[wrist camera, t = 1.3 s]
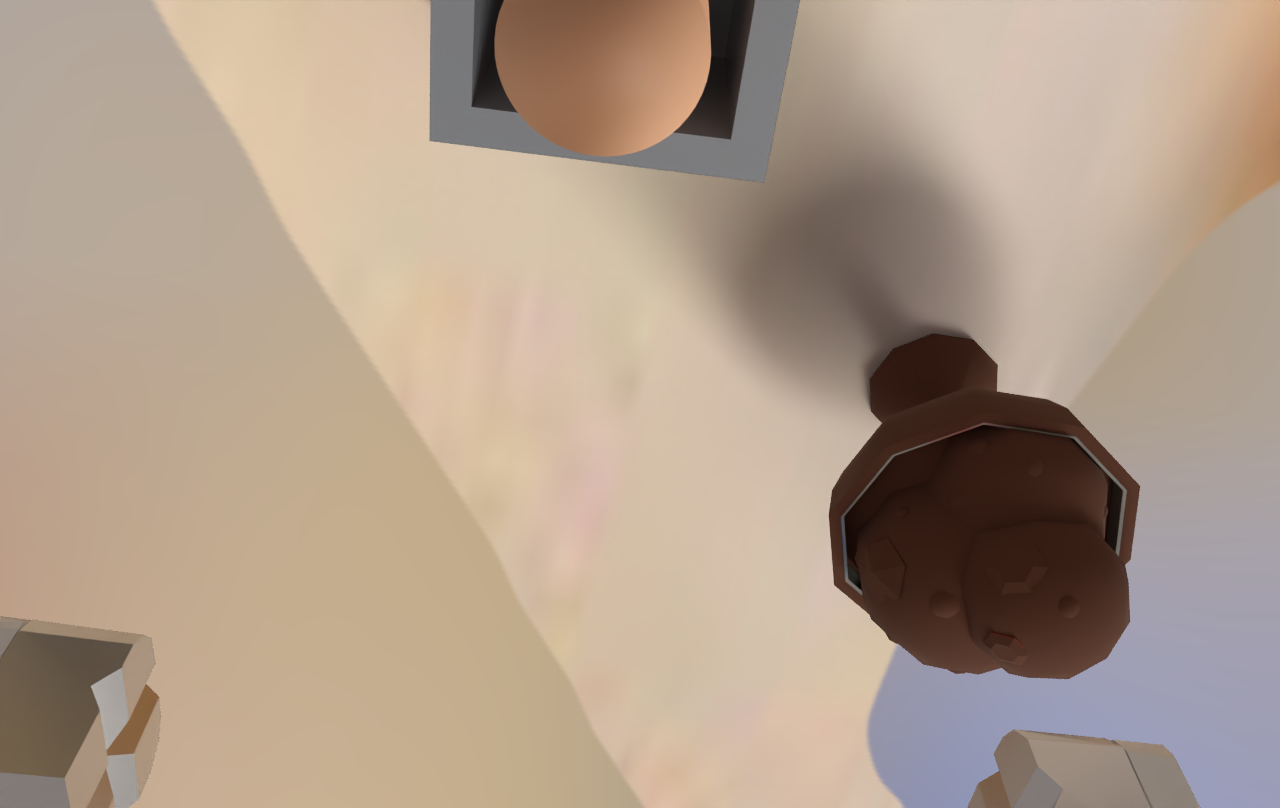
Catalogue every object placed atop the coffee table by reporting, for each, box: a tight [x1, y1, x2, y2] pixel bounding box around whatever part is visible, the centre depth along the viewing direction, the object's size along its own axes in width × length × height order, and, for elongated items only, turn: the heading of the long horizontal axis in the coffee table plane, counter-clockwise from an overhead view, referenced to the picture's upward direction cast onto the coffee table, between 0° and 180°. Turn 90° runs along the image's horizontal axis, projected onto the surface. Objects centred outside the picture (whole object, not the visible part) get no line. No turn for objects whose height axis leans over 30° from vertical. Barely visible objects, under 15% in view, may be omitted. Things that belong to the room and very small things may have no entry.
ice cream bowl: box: [829, 334, 1140, 679], centre depth 41 cm, size 11×11×15 cm
